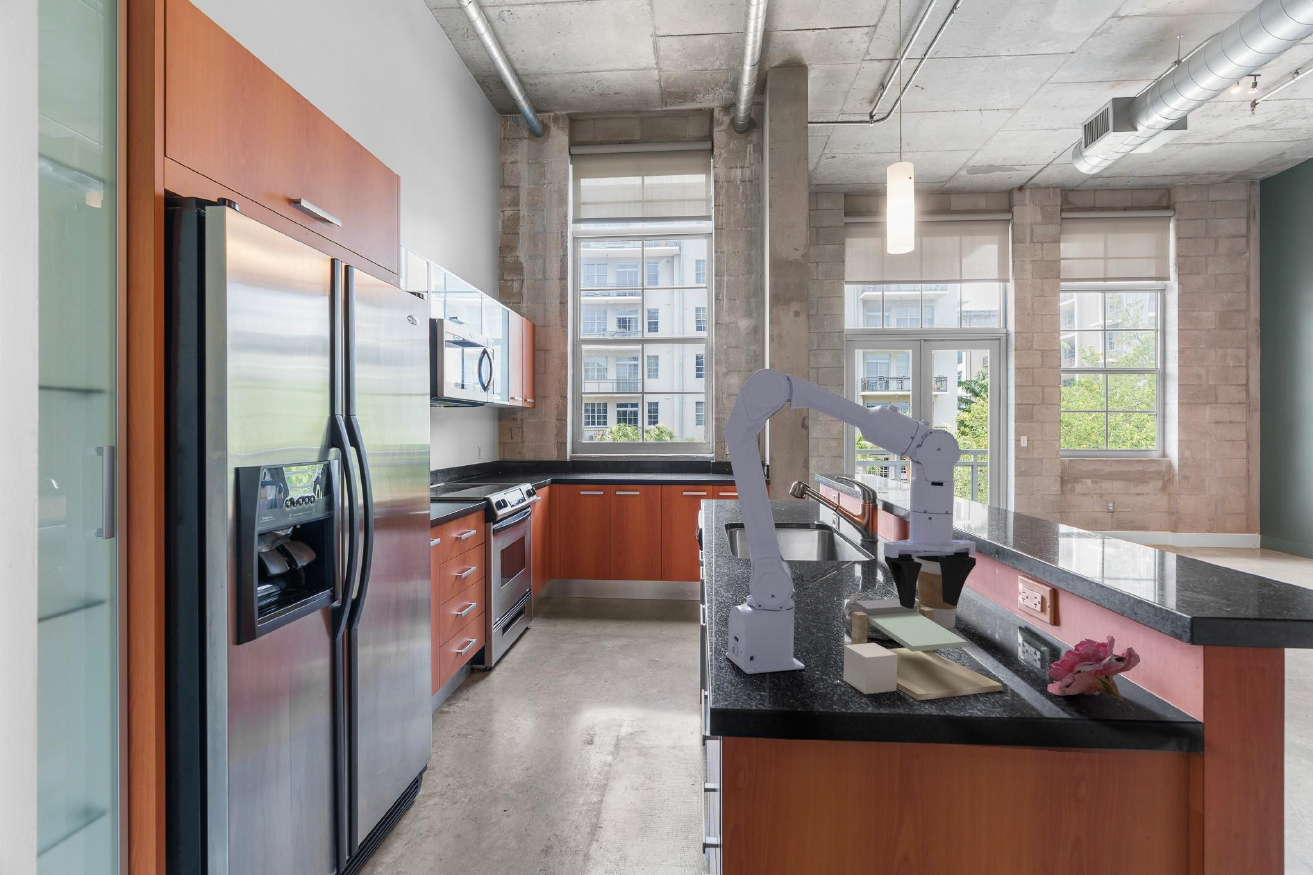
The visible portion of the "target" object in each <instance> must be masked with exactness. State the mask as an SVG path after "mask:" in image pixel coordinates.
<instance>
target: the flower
mask: <svg viewBox="0 0 1313 875" xmlns="http://www.w3.org/2000/svg"><path fill="white" fill-rule="evenodd" d="M1106 639H1107V641H1106V642H1105V641H1101V642H1099V641H1095V640H1094V639H1090V638H1084V640H1080V641H1079V642H1078V643H1077V644H1075V645H1074V646H1073V648H1074V649H1068V650H1066V651H1065V652H1064V654H1063V656H1062V657H1060V660H1057V661H1054V662H1053V663H1051V664H1050V666H1051V667H1050V669H1049V670H1048V672H1046V673H1047V675H1048V676H1050V677H1051V678H1052V679H1055V680H1053V681H1052V682H1053V683H1048V685H1047V691H1048V692H1049V693H1050V694H1053V695H1055V696H1060V697H1064V696H1068V695H1071V696H1072V695H1073V696H1074V695H1078V694H1084V695H1091V694H1095V693H1099V694H1105V695H1107V696H1109V697H1112V698H1114V699H1118V700H1119V701H1122V702H1123V703H1124V704H1126V702H1125V700H1124V699H1123V697H1122V696H1121V694H1120V691H1119V687H1118V685H1117V683H1116V681H1115V680H1114V676H1116V675H1119V674H1121V673H1127V672H1130V671H1131V670H1132V669H1133V668H1135V667H1136V666H1137V665H1139V663H1140V662H1141V657H1140V654H1138V653H1136V651H1135V649H1134V648H1133V647H1132V646H1131V647H1128V648H1125V649H1124V650H1123V651H1122V652H1120V653H1119V654H1115V653H1114V647H1115V642H1116V640H1115V638H1114V636H1113V635H1110V634H1108V635H1106ZM1056 680H1057V681H1056ZM1127 706H1128V707H1130V708H1131V709H1132V708H1133V707H1132V706H1130V705H1128V704H1127Z"/></svg>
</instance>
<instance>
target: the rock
mask: <svg viewBox="0 0 1313 875" xmlns="http://www.w3.org/2000/svg"><path fill="white" fill-rule="evenodd" d="M891 599H899V597H895V598H893V597H892V598H891ZM869 600H886V599H885V598H881V597H872V596H870V595H868V594H855V595H852V596H851V597H850V598H849V601H846V603H845V606H844V610H843V611H842V616H841V625H842V627H843V629H845V630H847V631H848V632H849V633H850V634H851V635H852V612H855V603H856V601H869ZM915 604H916V605H918V606H917V613H919V608H921V605H920V603H919V600H916V599H915ZM869 638H870V639H872V638H873V639H878V640H881V641H887V640H891V641H892V640H893V641H895V640H894V639H892V638H891V637H890V636H888V635H887V634H885V633H884V632H882V631H881V630H879V629H878V628H876V627H867V639H869Z"/></svg>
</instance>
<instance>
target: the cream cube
mask: <svg viewBox="0 0 1313 875" xmlns="http://www.w3.org/2000/svg"><path fill="white" fill-rule="evenodd" d="M843 646H844V647H843V678H842V679H843V681H844V682H845V683H848V684H849V685H851V686H852V687H853V688H855V689H857V690H858V691H859V692H861V693H863V694H864V695H869V694H878V693H887V692H895V691H897V688H896V685H897V654H895V653H893V652H891V651H889V650H887V649H888V648H886V647H884V646H881V645H879V644H877V643H875V642H867V643H866V644H854V645H851V644H844V645H843Z"/></svg>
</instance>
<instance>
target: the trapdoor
mask: <svg viewBox="0 0 1313 875" xmlns="http://www.w3.org/2000/svg"><path fill="white" fill-rule="evenodd" d="M917 606H918V605H916V604H915V605H914V609H909V608H906V607H903V606H901V605H900V601H899V599H892V598H887V599H886V600H869V601H856V603H855V612H863V613H865V614H867V615H868V621H867V627H876V628H878V629H879V630H881V631H882V632H884V633H885V634H887V635H888V636H890V637H891V638H892V639H894V640H893V641H896V642H897V643H898V644H900V645H901V646H903V648H907V649H909V650H910V651H912V652H915V651H926V650H933V651H935V650H943V649H945V650H948V649H957V648H958V649H959V648H966V647H967V645H968V641H967V640H965V639H964V638H962V637H960V636H958V635H957V634H955V633H953V632H951V631H950V630H949V629H945V628H943V627H941V626H940V625H938V624H936V623H935V622H933V621H931V620H929V619H928V618H926V617H924V616H923V615H921V614H919V613H917Z"/></svg>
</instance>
